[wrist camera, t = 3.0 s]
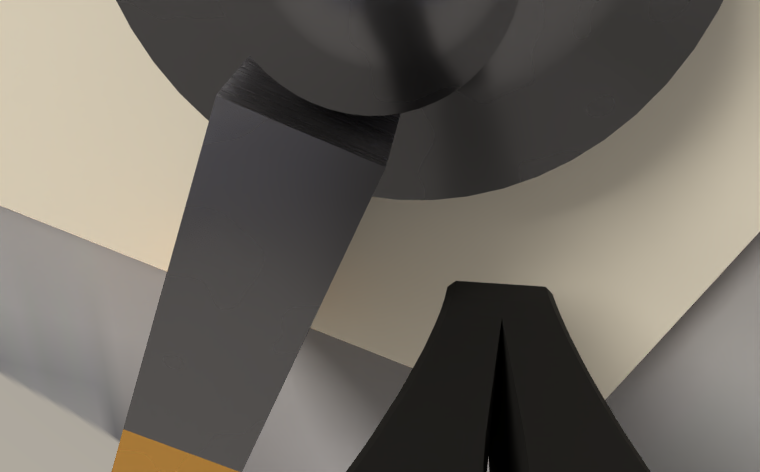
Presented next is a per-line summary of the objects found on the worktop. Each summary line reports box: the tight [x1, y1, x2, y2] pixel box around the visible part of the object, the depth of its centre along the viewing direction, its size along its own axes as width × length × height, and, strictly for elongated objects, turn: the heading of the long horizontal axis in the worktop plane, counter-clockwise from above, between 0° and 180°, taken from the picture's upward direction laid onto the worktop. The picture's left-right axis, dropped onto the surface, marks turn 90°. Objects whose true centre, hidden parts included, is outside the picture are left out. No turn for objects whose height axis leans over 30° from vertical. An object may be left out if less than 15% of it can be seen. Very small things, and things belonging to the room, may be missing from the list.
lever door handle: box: [112, 0, 723, 472], centre depth 8 cm, size 12×7×4 cm, turn 158°
